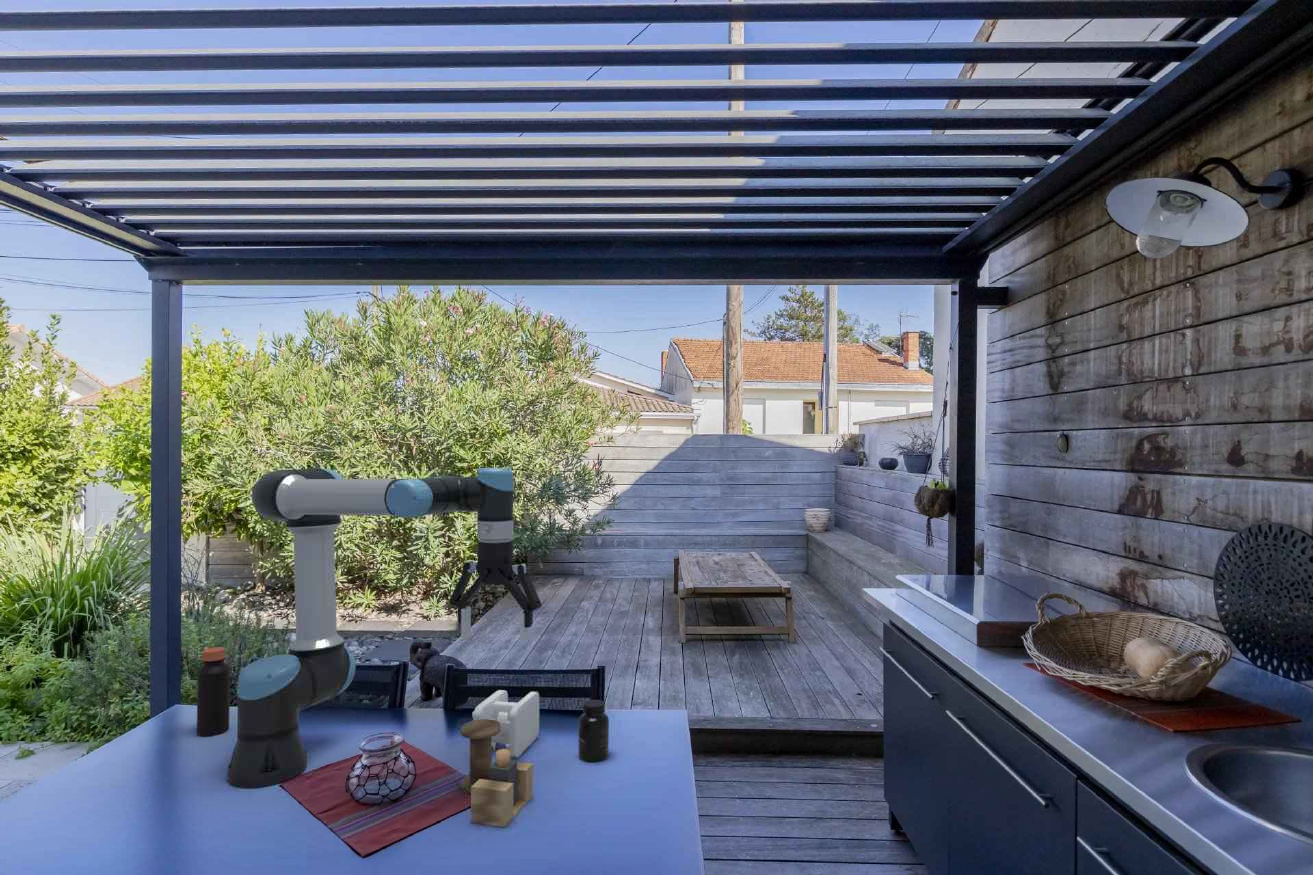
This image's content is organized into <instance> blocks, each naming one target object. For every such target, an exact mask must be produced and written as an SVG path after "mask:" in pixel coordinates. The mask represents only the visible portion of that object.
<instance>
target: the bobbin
mask: <svg viewBox="0 0 1313 875" xmlns="http://www.w3.org/2000/svg"><path fill="white" fill-rule="evenodd" d="M500 731H501V724H500V723H499V722H498V721H495V720H490V719H480V720H474V721H473V720H471V721H468V722H465V723H463V724H462V725H461V727H460V735H461V737H463V738H466V739H469V774H467V775H465V776H464V777H462V778H461V780H460V790H461V791H462V790H463V791H465V792H468V793H471V786H473V785H474V784H475V783H476V782H477V781H478V780H479V779H484V780H489V767H490V766H491V765H492V764H493V763H492V760H493V759H492V757H493V756H492V751H493V747H492V736H495V735H497V734H498V733H499V732H500ZM463 791H462V792H463ZM465 792H464V793H465ZM468 793H467V794H468Z"/></svg>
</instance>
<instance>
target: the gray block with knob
mask: <svg viewBox="0 0 1313 875" xmlns="http://www.w3.org/2000/svg"><path fill="white" fill-rule="evenodd" d="M517 762H518V761H517V760H512V759H511V756H510V750H509V748H508V749H506V748H501V749H498V750H496V752H495V761H494V762H493V763H492V765H491V766H490V767H489V780H492V781H500V782H508V783H514V784H513V806H514V805H515V804H516V803H517Z"/></svg>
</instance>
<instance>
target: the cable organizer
mask: <svg viewBox="0 0 1313 875" xmlns="http://www.w3.org/2000/svg"><path fill="white" fill-rule="evenodd" d="M508 700H509V695H508V691H507V690H502V689H498V690H496V691H495V692H493V693H492V694H491V695H490V696H488V697H487V698H485V699H484V700H483V701H482V702H480V703H479V704H478V705H477V706H476V707H475V708H474V711H472V713H471V714H472V715H471V716H472V719H473V720H472V721H474V720H480V719H490V720H495V721H498V722H499V723H500V724H501V731H500V732H499V733H498V734H497V735H495V736H492V751H495V750H496V745H497V744H504V745H505V749H508V750H510V758H511V757H512V758H513V757H514V758H516V759H517V758H518V757H519V756H522V755H523V753H524V752H525V751H526V749H528V748H529V747H530V746H531V745H533V743H534V742H535V741H536V739H537V738H538V735H539V732H540V694H539V692H538V691H530V692H529V693H528V694H526V695H525V696H523V698H522V699H520V700H519V701H518V702H512V701H511V702H509V701H508ZM519 758H520V757H519ZM519 758H518V759H519Z"/></svg>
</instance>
